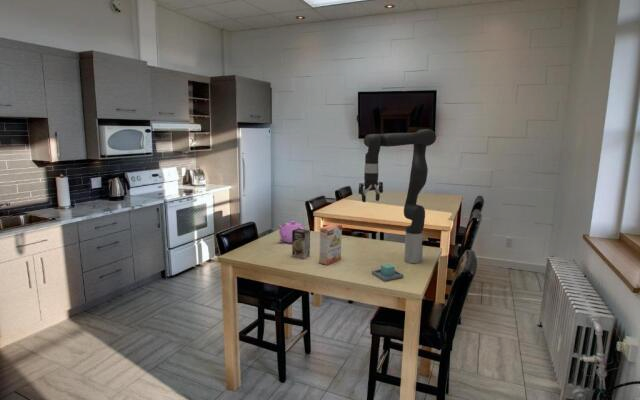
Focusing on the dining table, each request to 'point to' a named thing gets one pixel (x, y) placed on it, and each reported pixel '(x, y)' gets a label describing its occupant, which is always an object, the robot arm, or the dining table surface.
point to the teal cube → (387, 270)
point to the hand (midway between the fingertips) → (370, 201)
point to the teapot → (288, 230)
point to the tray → (383, 278)
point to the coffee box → (301, 243)
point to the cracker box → (330, 243)
